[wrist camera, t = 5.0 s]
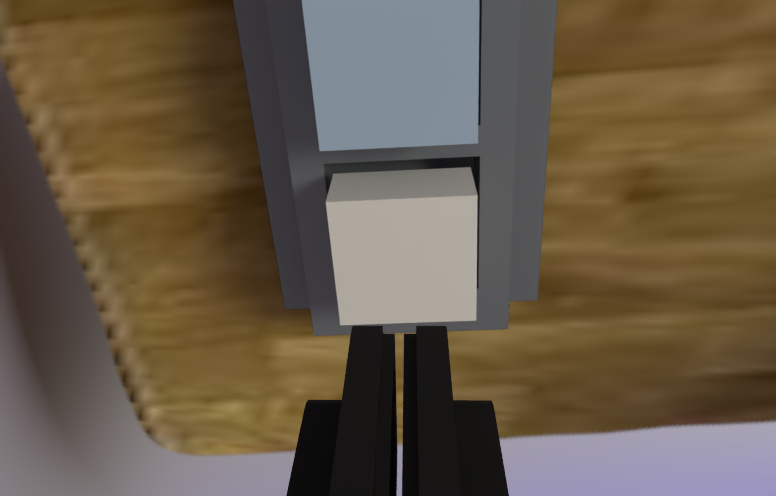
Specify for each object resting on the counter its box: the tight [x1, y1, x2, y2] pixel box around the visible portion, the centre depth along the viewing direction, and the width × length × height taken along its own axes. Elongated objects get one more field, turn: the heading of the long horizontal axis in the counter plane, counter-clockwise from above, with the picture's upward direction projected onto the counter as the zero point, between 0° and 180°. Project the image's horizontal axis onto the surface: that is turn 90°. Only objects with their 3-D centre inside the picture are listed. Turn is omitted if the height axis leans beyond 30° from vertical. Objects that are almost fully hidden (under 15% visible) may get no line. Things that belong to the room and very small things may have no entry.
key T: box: [302, 0, 479, 151], centre depth 19 cm, size 5×5×2 cm
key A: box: [326, 167, 478, 325], centre depth 22 cm, size 5×5×2 cm
